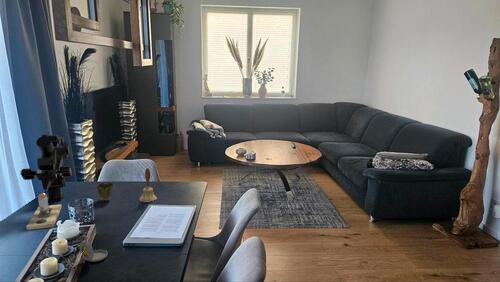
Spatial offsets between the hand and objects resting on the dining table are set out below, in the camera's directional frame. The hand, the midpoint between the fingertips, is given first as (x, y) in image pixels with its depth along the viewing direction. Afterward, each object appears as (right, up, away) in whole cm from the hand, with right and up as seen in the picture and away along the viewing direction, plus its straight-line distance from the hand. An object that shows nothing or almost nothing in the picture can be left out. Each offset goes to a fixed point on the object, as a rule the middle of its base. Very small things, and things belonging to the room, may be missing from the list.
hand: (45, 190), depth 142 cm
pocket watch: (+35, -19, -31) cm, 51 cm away
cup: (+18, -8, +19) cm, 27 cm away
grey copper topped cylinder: (+2, -10, -3) cm, 11 cm away
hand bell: (+38, -8, +21) cm, 44 cm away
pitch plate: (+1, -12, -2) cm, 12 cm away
